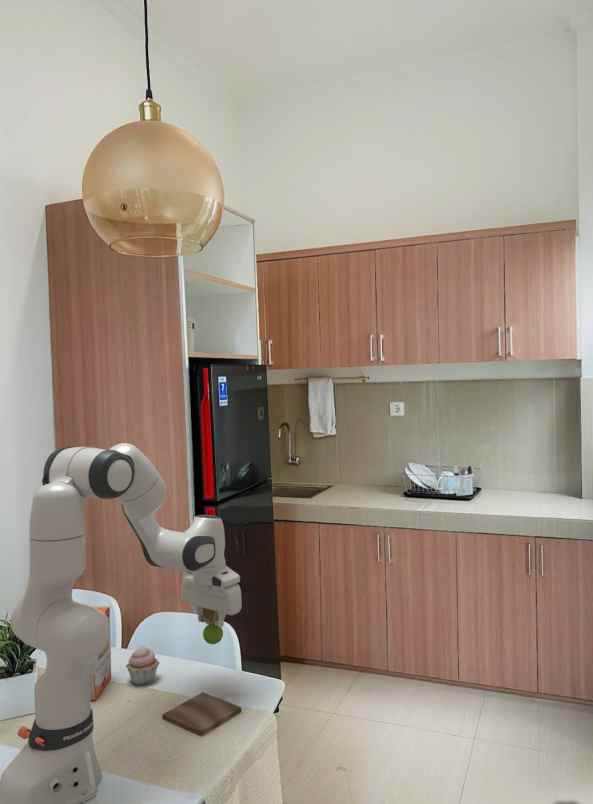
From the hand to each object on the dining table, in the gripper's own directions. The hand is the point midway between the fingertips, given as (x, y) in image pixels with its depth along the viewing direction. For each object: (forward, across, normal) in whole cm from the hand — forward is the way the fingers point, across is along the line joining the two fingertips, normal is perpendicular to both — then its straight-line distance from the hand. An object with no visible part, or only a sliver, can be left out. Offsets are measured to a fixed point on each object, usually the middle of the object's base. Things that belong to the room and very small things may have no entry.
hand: (210, 624), depth 179 cm
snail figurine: (+5, +2, 0) cm, 6 cm away
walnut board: (+18, +8, -12) cm, 23 cm away
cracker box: (+18, -27, -19) cm, 38 cm away
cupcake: (+18, -20, -8) cm, 28 cm away
